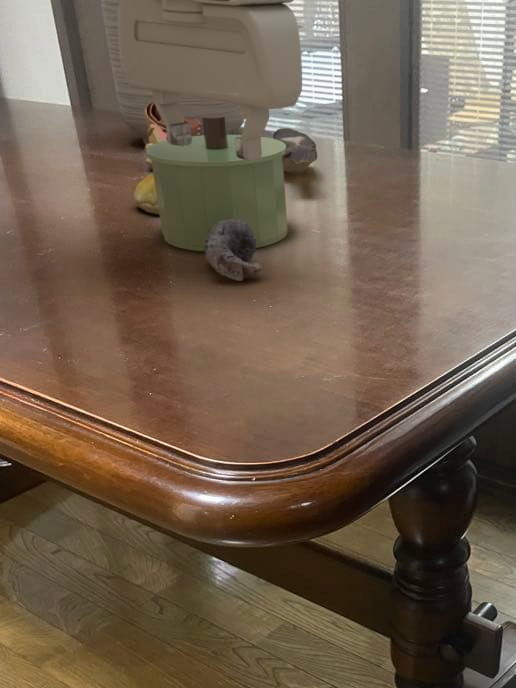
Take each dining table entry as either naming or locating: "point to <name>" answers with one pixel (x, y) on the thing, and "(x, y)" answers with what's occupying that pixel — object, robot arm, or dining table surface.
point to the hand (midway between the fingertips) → (213, 151)
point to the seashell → (231, 249)
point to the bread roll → (147, 195)
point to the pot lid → (211, 148)
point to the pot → (220, 201)
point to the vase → (138, 98)
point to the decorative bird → (296, 150)
